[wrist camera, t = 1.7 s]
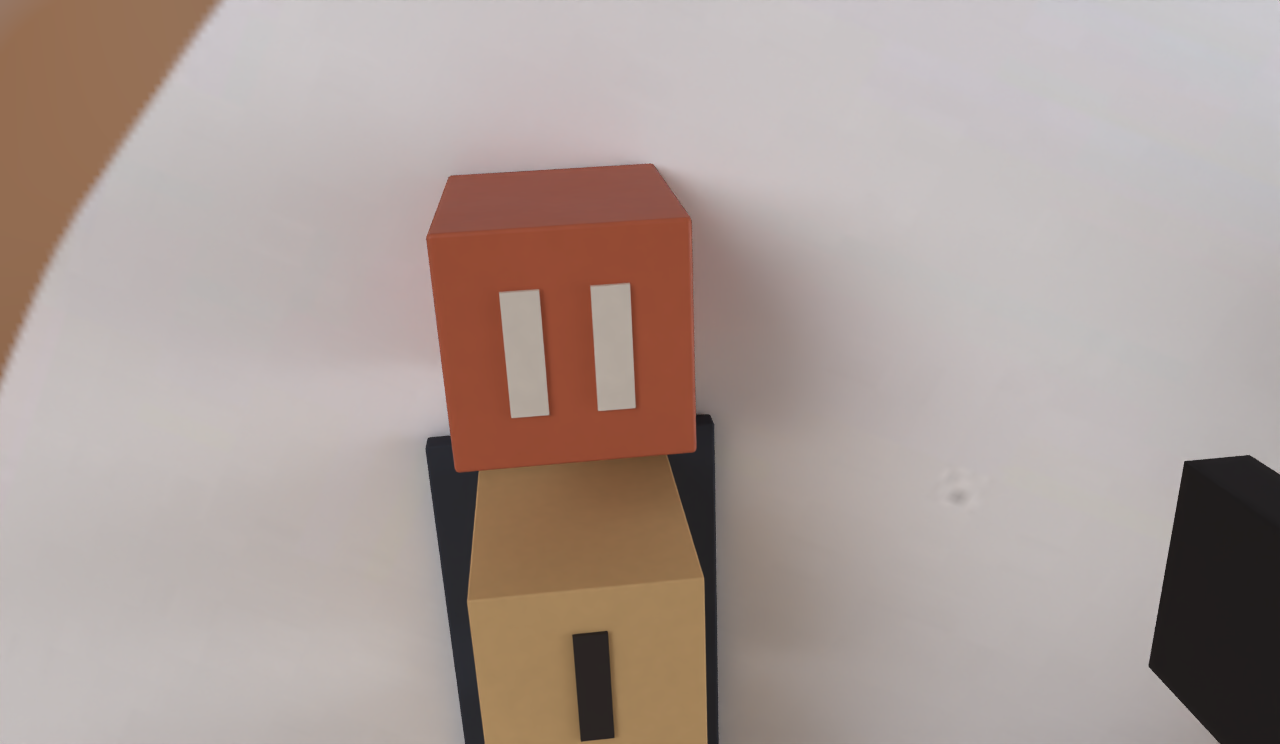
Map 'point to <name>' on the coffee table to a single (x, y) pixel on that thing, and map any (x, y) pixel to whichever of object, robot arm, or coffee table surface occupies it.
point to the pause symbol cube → (564, 316)
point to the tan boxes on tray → (582, 597)
